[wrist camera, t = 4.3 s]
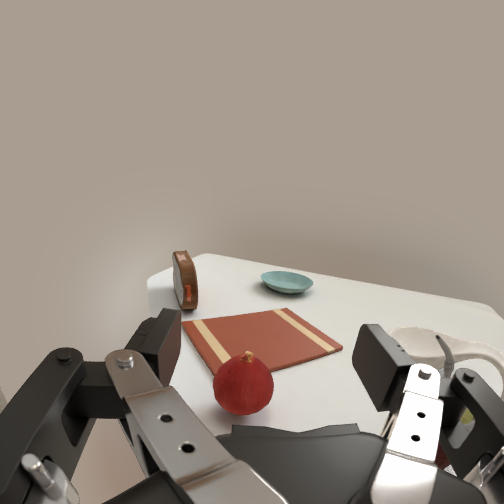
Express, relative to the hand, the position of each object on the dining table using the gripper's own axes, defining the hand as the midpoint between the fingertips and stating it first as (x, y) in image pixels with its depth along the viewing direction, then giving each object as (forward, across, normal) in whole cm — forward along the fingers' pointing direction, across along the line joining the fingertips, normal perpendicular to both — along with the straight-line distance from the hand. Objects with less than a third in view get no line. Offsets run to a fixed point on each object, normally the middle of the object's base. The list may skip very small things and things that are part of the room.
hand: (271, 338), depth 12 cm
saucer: (+50, -10, +16) cm, 54 cm away
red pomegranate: (+11, 0, +16) cm, 20 cm away
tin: (+39, +11, +16) cm, 43 cm away
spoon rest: (+16, -29, +16) cm, 37 cm away
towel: (+27, -3, +16) cm, 31 cm away
